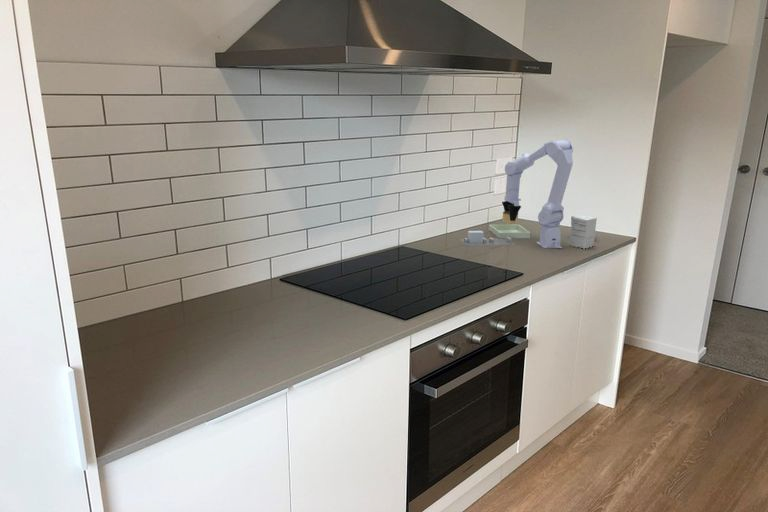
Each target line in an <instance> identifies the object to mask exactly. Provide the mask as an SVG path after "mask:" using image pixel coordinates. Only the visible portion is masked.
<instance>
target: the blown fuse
mask: <svg viewBox="0 0 768 512" xmlns="http://www.w3.org/2000/svg"><path fill="white" fill-rule="evenodd" d="M518 220H519V213H518V214H517V217H516V220H515V221H510V212H509V211H504V210H503V211H502V222H503V223H509V224H513V225H516V224H517V223H518V222H519V221H518Z"/></svg>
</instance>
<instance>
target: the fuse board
mask: <svg viewBox="0 0 768 512" xmlns="http://www.w3.org/2000/svg"><path fill="white" fill-rule="evenodd" d="M459 240H460V241H461V243H462V244H463V245H464V246H517V244H516V243H515V242H514V241H512V240H513V238H510V237H507V238H493V237H488V238H486V237H483V243H469V239H468V237H463V238H459Z"/></svg>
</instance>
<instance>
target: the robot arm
mask: <svg viewBox="0 0 768 512" xmlns="http://www.w3.org/2000/svg"><path fill="white" fill-rule="evenodd" d="M573 153H574V146H573V144H572V142H571V141H570V140H568V139H562V140H561V139H560V140H550V141H548V142H546V143H543V145H541V146H540V147H539V148H537V149H536V150H534V151H533V152H532V153H529V152H528V153H522V154H521V156H520V157H518V158H515V159H514V160H513V161H508V162H507V163H506V164H505V166H504V172H505V173H506V183H505V184H506V185H505V186H506V187H505V195H504V201H501V204H502V206H503V209H504V210H503V212H504V211H509V212H510V221H515V220H516V217H517V214H518V215H519V212H520V209H521V208H522V206H521V205H520V201H522V199H521V198H519V196H520V195H519V194H520V183H521V178H522V174H523V173H524V171H525V170H527V169H528V168H530V167H532V166H534V165H535V161H537V160H539V159H541V158H543V157H545V156H547V155H548V157H549V158H550V159H552V160H553V161H554V163H556V165H557V167H556V170H555V173H554V179H553V182H552V185H551V187H550V188H551V189H550V192H549V196H548V199H547V201H546V203H545V204H543V206H542V208H541V210H540V211H539V213H538V215H537V219H538V222H539V224H540V232H539V233H540V235H539V241H536V242H535V243H536V244H537V245H539V246H541V247H542V248H545V249H552V248H553V249H562V248H563V246H561V240H562V232H561V230H560V228H559V227H560V226H559V225H561V224H560V223H561V222H563V219H564V210H565V208H564V206H563V205H562V202H563V198H564V195H565V192H566V188H567V185H568V183H569V178H570V174H571V171H572V169H573V168H572V167H573V163H574V161H573Z"/></svg>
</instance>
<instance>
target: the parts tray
mask: <svg viewBox="0 0 768 512" xmlns="http://www.w3.org/2000/svg"><path fill="white" fill-rule="evenodd" d="M488 227H489V228H488V232H491V233H492V234H493V235H494V236H496V238H497V239H507V237H510V238H511V239H531V234H532V232H531V231H529V230H528V229H526V228H524V227H523V226H521V225H520V224H489V226H488Z"/></svg>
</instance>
